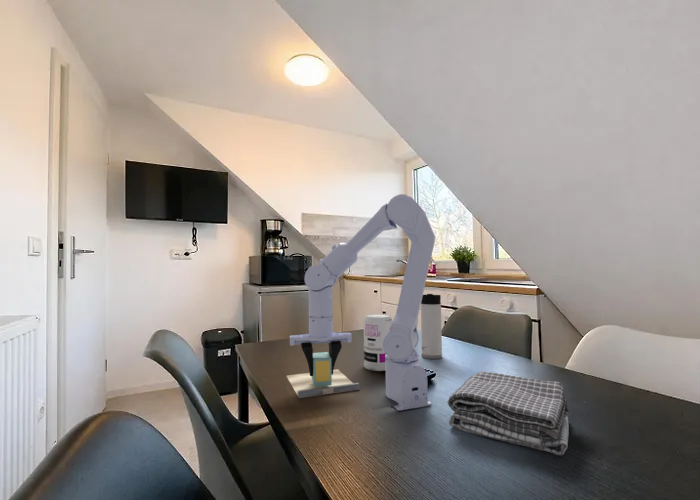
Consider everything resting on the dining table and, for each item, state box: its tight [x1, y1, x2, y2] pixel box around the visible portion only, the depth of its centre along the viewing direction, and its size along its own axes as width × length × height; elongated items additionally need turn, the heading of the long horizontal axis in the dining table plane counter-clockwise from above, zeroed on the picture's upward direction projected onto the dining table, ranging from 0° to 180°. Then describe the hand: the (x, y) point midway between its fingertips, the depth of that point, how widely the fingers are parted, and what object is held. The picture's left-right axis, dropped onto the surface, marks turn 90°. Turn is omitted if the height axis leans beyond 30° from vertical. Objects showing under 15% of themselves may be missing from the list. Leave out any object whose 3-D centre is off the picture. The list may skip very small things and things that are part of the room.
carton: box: [312, 351, 332, 387], centre depth 82 cm, size 4×6×6 cm, turn 11°
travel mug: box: [420, 293, 443, 360], centre depth 110 cm, size 6×7×20 cm
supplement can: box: [363, 313, 394, 372], centre depth 98 cm, size 8×8×15 cm
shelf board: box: [286, 368, 361, 399], centre depth 85 cm, size 16×14×2 cm
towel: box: [447, 371, 570, 456], centre depth 63 cm, size 15×18×8 cm
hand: (321, 374), depth 83 cm, fingers closed on carton, 4 cm apart
